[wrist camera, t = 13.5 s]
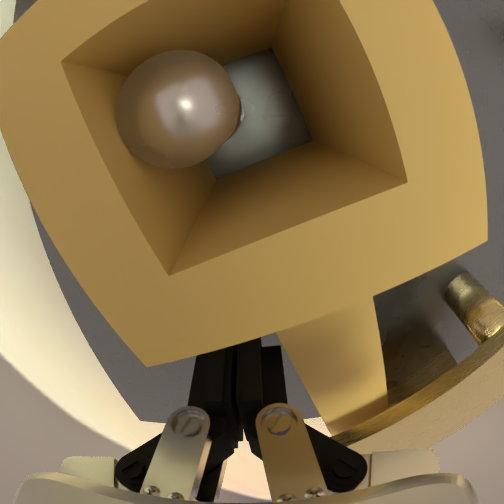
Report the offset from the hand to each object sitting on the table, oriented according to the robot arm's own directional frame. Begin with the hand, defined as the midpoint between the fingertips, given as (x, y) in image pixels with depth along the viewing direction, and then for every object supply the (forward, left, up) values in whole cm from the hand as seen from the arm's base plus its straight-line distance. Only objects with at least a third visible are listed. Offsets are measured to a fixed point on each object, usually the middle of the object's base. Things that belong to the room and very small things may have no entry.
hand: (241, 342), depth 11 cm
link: (-3, +3, -1) cm, 4 cm away
